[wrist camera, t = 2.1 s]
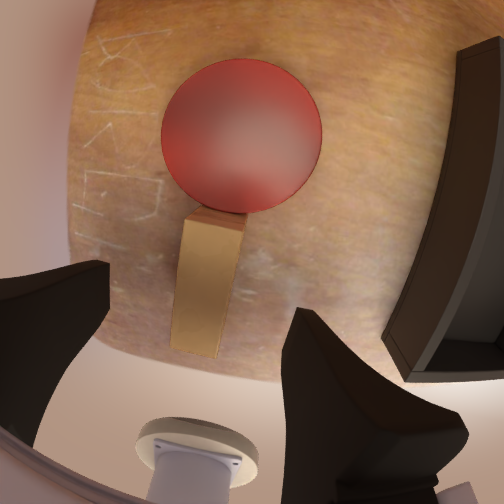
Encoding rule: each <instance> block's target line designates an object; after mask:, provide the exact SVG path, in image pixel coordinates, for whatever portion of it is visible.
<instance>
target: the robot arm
mask: <svg viewBox="0 0 504 504" xmlns="http://www.w3.org/2000/svg"><path fill="white" fill-rule="evenodd" d="M109 309H110V263H107V262H103V261H100V260H90V261H85V262H80V263H76V264H72V265H68V266H64V267H60V268H57V269H53V270H48V271H44V272H40V273H36V274H31V275H26V276H20V277H12V278H4V279H0V504H228V501H229V491H230V486H231V484H232V482H233V480H234V478H235V476H236V474H237V472H238V470H239V468H240V465H241V463H242V458H241V457H239V456H234V455H228V454H222V453H217V452H212V451H207V450H202V449H197V448H193V447H189V446H184V445H180V444H177V443H173V442H169V441H165V440H162V439H158V438H155V439H154V441H153V450H154V463H155V470H154V474H153V477H152V480H151V484H150V487H149V490H148V494H147V497H146V500H144V499H141V498H138V497H135V496H132V495H129V494H126V493H123V492H121V491H118V490H115V489H113V488H110V487H108V486H105V485H102V484H100V483H98V482H96V481H93V480H91V479H89V478H87V477H85V476H82V475H80V474H78V473H76V472H74V471H72V470H70V469H68V468H66V467H64V466H62V465H61V464H59V463H57V462H55V461H53V460H51V459H50V458H48V457H46V456H44V455H43V454H41V453H39V452H38V451H36V450H34V449H33V444H34V441H35V438H36V434H37V431H38V428H39V425H40V423H41V420H42V417H43V415H44V412H45V410H46V407H47V405H48V403H49V401H50V399H51V397H52V395H53V393H54V390H55V388H56V386H57V385H58V383H59V381H60V379H61V378H62V376H63V374H64V372H65V370H66V369H67V368H68V366H69V365H70V363H71V362H72V360H73V359H74V358H75V357H76V355H77V354H78V353H79V351H80V350H81V349H82V347H84V345H85V344H86V343H87V342H88V340H89V339H90V338H91V337H92V335H93V334H94V333H95V332H96V330H97V329H98V328H99V326H100V325H101V323H102V321H103V320H104V318H105V316H106V315H107V313H108V311H109ZM281 379H282V390H283V399H284V409H285V419H286V448H285V466H284V478H283V488H282V498H281V504H478V502H477V499H476V497H475V494H474V492H473V489H472V487H471V484H470V482H464V483H462V484H459V485H456V486H453V487H451V488H448V489H445V490H443V491H441V492H439V493H437V494H435V491H434V488H433V487H434V486H436V485H437V484H438V482H439V480H438V478H437V475H436V474H437V473H438V472H439V471H440V470H441V469H442V468H443V467H445V466H446V465H447V464H448V463H449V462H450V461H451V460H452V459H453V458H454V457H455V456H456V455H457V454H458V453H459V452H460V451H461V450H462V449H463V447H464V446H465V444H466V442H467V440H468V437H469V432H468V430H467V428H466V426H465V424H464V422H463V420H462V419H461V417H460V415H459V414H458V413H457V412H454V411H451V410H449V409H446V408H443V407H440V406H438V405H435V404H432V403H430V402H428V401H425V400H424V399H421V398H419V397H417V396H415V395H413V394H411V393H409V392H407V391H406V390H404V389H402V388H401V387H399V386H397V385H396V384H394V383H393V382H391V381H389V380H388V379H386V378H385V377H383V376H382V375H380V374H379V373H378V372H376V371H375V370H374V369H373V368H371V367H370V366H369V365H367V364H366V363H365V362H364V361H363V360H361V359H360V358H359V357H358V356H357V355H356V354H355V353H354V352H353V351H352V350H351V349H350V348H348V347H347V346H346V345H345V344H344V343H343V341H342V340H341V339H340V338H339V337H338V336H337V335H336V334H335V333H334V332H333V331H332V330H331V329H330V328H329V326H328V325H327V324H326V323H325V322H324V321H323V320H322V319H321V318H320V317H319V316H318V315H317V314H316V313H315V312H314V311H313V310H309V309H304V308H299V307H297V308H296V311H295V314H294V317H293V320H292V323H291V326H290V329H289V332H288V335H287V337H286V340H285V343H284V346H283V349H282V358H281Z"/></svg>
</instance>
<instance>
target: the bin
mask: <svg viewBox="0 0 504 504" xmlns="http://www.w3.org/2000/svg"><path fill="white" fill-rule="evenodd" d="M381 339H382V341H383V343H384V344H385V346H386V348H387V350H388V352H389V354H390V355H391V357H392V359H393V361H394V363H395V365H396V367H397V369H398V371H399V372H400V374H401V376H402V378H403V380H404V382H410V383H443V382H469V381H484V380H496V379H504V39H503V38H502V37H500V36H497V37H494V38H491V39H488V40H486V41H483V42H480V43H478V44H475V45H473V46H470V47H468V48H465V49H463V50H460V51H458V52H457V69H456V83H455V93H454V103H453V111H452V118H451V124H450V131H449V137H448V142H447V147H446V153H445V157H444V162H443V167H442V171H441V175H440V180H439V184H438V188H437V191H436V195H435V199H434V203H433V206H432V210H431V213H430V216H429V220H428V223H427V226H426V229H425V232H424V235H423V238H422V241H421V244H420V247H419V250H418V253H417V256H416V258H415V261H414V264H413V266H412V269H411V272H410V274H409V277H408V279H407V282H406V284H405V287H404V289H403V292H402V294H401V296H400V299H399V301H398V303H397V305H396V308H395V310H394V312H393V314H392V317H391V319H390V321H389V323H388V325H387V327H386V329H385V331H384V333H383V335H382V337H381Z"/></svg>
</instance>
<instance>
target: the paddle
mask: <svg viewBox="0 0 504 504" xmlns="http://www.w3.org/2000/svg"><path fill="white" fill-rule="evenodd" d="M161 145H162V152H163V156H164V160H165V162H166V165H167V167H168V170H169V172H170V173H171V175H172V177H173V178H174V180H175V181H176V182H177V184H178V185H179V186H180V187H181V188H182V189H183V190H184V191H185V192H186V193H187V194H188V195H189V196H190V197H192V198H193V199H194V200H196V201H198V202H199V203H201V204H203V205H201V206H200V207H199V208H198V209H196V210H195V211H194V212H193V213H192V214H190V215H189V216H188V217H187V218H186V219H185V220H184V226H183V232H182V239H181V246H180V253H179V261H178V268H177V276H176V285H175V294H174V303H173V313H172V323H171V335H170V348H174V349H177V350H181V351H185V352H189V353H193V354H197V355H201V356H206V357H210V358H214V359H216V358H217V355H218V350H219V346H220V341H221V337H222V333H223V328H224V324H225V319H226V315H227V310H228V305H229V301H230V296H231V291H232V287H233V282H234V277H235V273H236V268H237V263H238V259H239V254H240V250H241V245H242V240H243V236H244V231H245V227H246V222H247V218H248V214H246V213H254V212H258V211H263V210H266V209H269V208H271V207H274V206H276V205H278V204H280V203H282V202H284V201H285V200H287V199H288V198H290V197H291V196H293V195H294V194H295V193H296V192H297V191H298V190H299V189H300V188H301V187H302V186H303V185H304V184H305V182H306V181H307V180H308V178H309V177H310V175H311V174H312V172H313V170H314V168H315V166H316V164H317V161H318V158H319V155H320V151H321V145H322V126H321V120H320V116H319V112H318V109H317V107H316V104H315V102H314V100H313V99H312V97H311V95H310V94H309V92H308V91H307V90H306V88H305V87H304V86H303V85H302V84H301V83H300V82H299V81H298V80H297V79H296V78H295V77H294V76H292V75H291V74H290V73H288V72H287V71H285V70H283V69H282V68H280V67H278V66H275V65H273V64H270V63H268V62H264V61H260V60H254V59H232V60H225V61H221V62H218V63H215V64H212V65H210V66H207V67H205V68H203V69H202V70H200V71H198V72H196V73H195V74H194V75H192V76H191V77H190V78H188V79H187V80H186V81H185V82H184V83H183V84H182V85H181V86H180V88H179V89H178V90H177V91H176V93H175V94H174V96H173V97H172V99H171V101H170V102H169V105H168V107H167V109H166V111H165V115H164V118H163V122H162V129H161Z"/></svg>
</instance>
